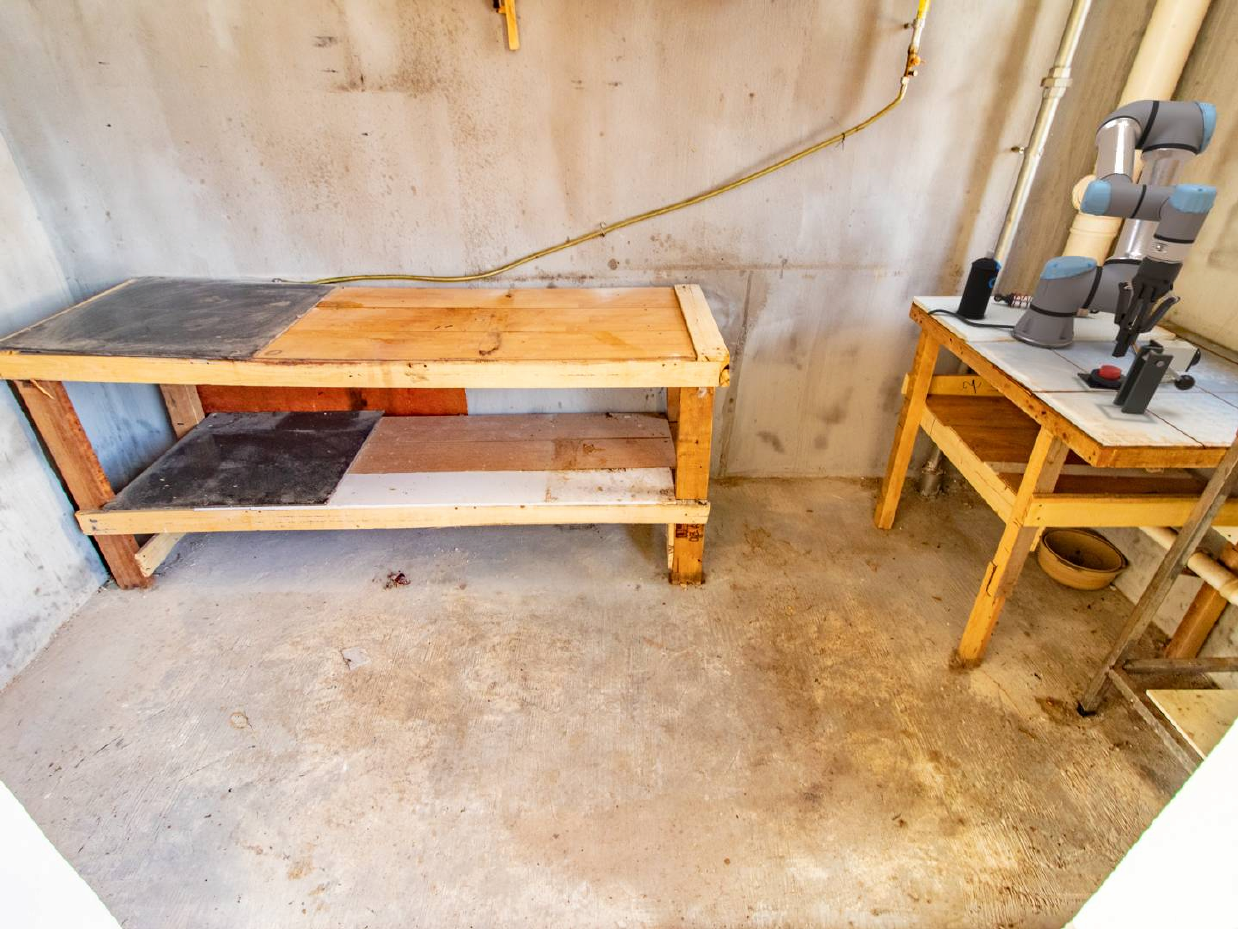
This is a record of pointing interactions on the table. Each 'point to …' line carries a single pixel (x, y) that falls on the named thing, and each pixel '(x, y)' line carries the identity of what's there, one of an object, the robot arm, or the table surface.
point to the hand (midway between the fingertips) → (1117, 355)
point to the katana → (1135, 347)
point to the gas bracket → (1142, 380)
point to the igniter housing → (1101, 380)
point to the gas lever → (1177, 377)
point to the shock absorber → (1010, 299)
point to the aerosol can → (979, 287)
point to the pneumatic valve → (1178, 355)
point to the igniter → (1110, 372)
